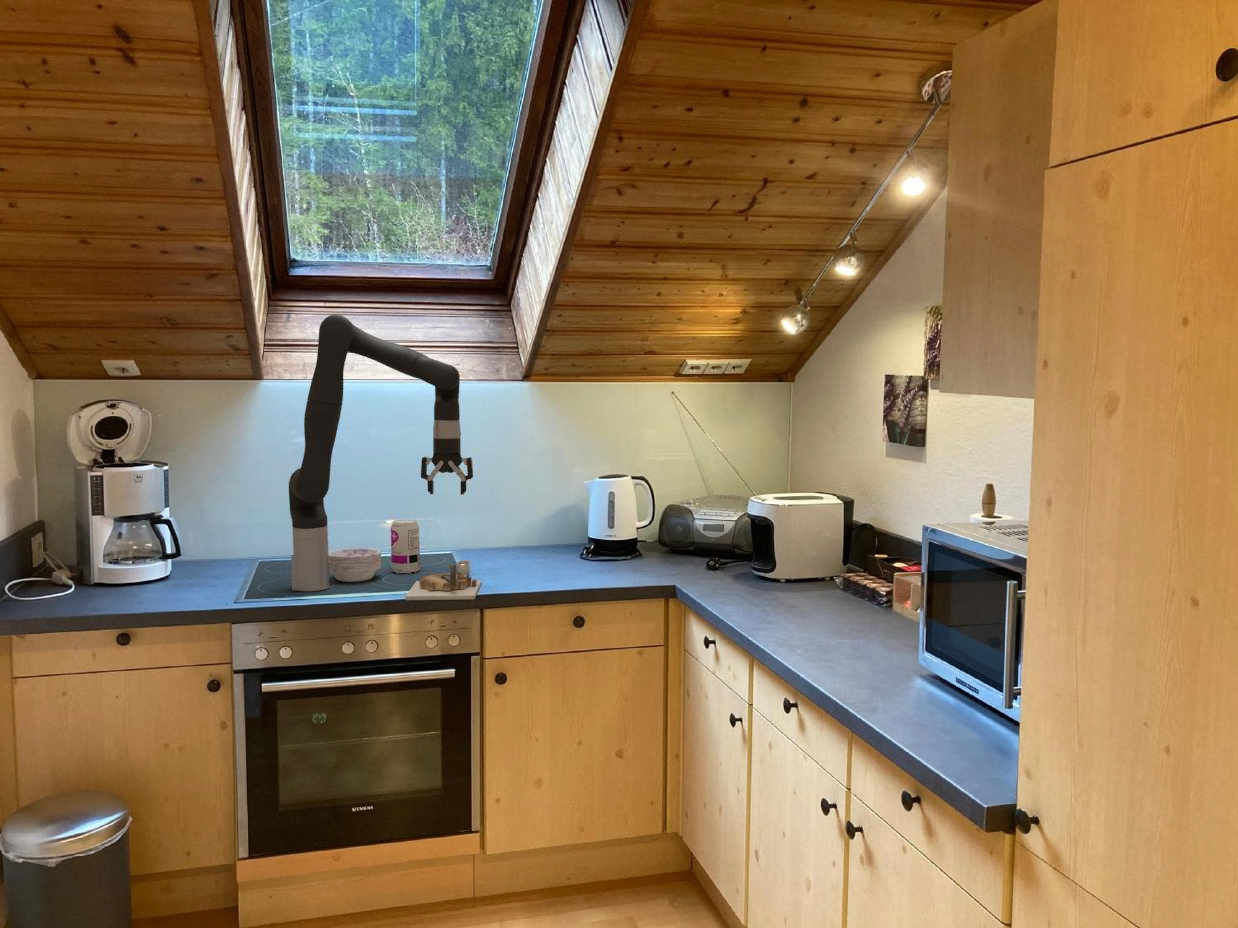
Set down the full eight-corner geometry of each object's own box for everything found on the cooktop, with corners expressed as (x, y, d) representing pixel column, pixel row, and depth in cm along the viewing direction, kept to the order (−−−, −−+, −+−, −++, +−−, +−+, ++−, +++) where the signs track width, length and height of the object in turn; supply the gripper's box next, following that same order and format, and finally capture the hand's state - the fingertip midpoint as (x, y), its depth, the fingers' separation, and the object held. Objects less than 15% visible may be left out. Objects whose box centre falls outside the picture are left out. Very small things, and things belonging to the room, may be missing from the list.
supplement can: (394, 575, 300) (393, 524, 298) (389, 569, 307) (388, 520, 306) (422, 572, 303) (421, 522, 301) (416, 567, 310) (415, 518, 309)
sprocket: (443, 594, 268) (442, 567, 268) (410, 584, 280) (409, 558, 279) (486, 586, 278) (485, 560, 277) (452, 577, 289) (452, 552, 289)
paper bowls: (371, 571, 305) (370, 545, 304) (389, 580, 292) (388, 553, 292) (320, 577, 297) (319, 550, 296) (336, 586, 284) (335, 558, 283)
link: (456, 579, 278) (456, 564, 277) (459, 574, 284) (458, 560, 283) (468, 579, 278) (468, 564, 277) (470, 574, 284) (470, 559, 283)
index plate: (405, 600, 268) (405, 590, 268) (416, 584, 287) (416, 575, 287) (474, 599, 269) (474, 589, 268) (481, 583, 288) (481, 574, 287)
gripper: (418, 437, 282) (419, 495, 284) (470, 437, 283) (470, 496, 284) (423, 435, 290) (423, 492, 291) (474, 435, 290) (474, 492, 292)
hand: (447, 494), depth 288 cm, fingers open, 8 cm apart
